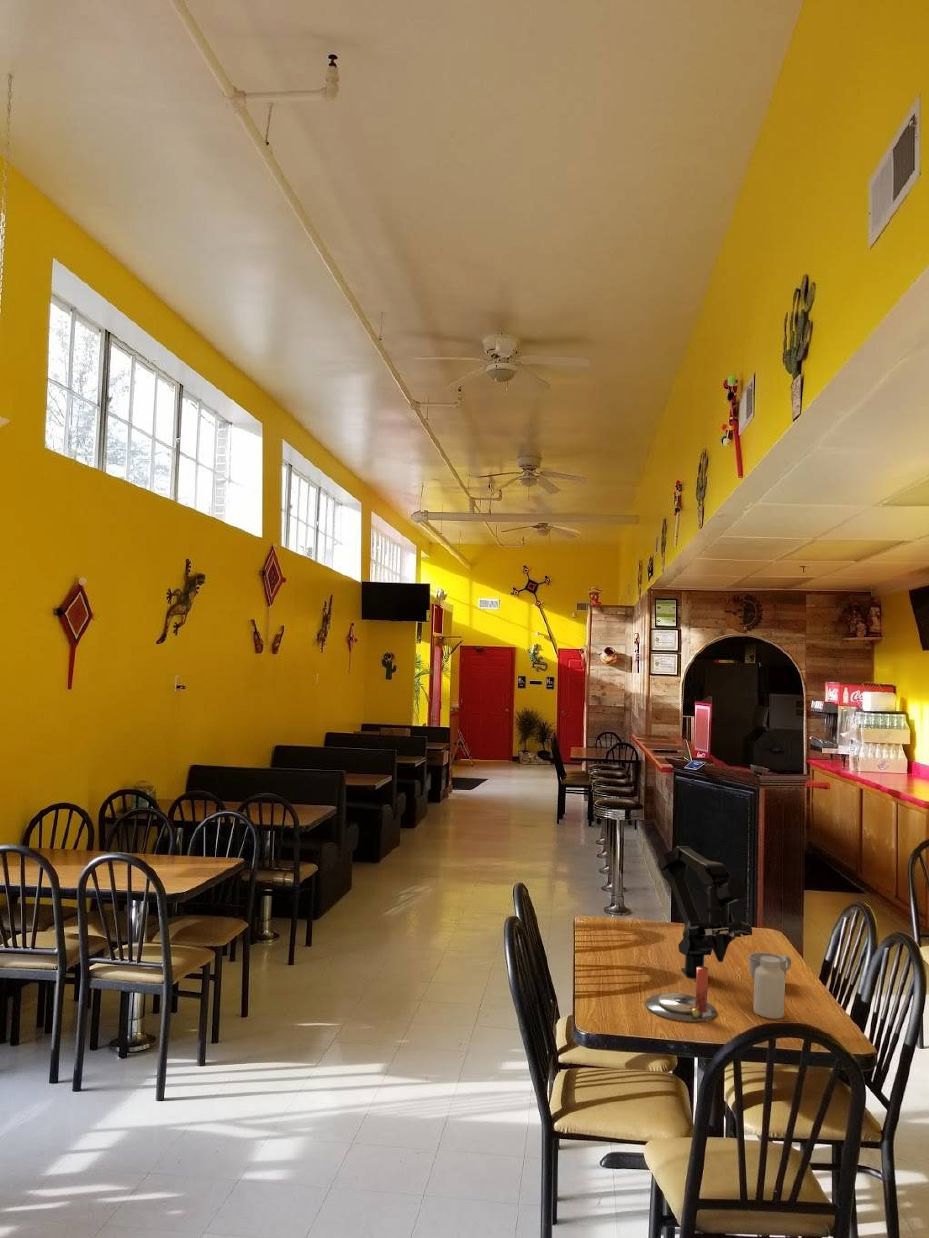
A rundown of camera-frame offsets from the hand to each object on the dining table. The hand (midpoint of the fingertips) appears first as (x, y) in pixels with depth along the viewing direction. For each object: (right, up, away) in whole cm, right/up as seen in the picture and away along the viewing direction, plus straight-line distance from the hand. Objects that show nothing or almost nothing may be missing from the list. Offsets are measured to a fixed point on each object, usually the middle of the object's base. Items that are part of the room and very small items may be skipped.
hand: (720, 961), depth 259 cm
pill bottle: (+10, -10, -11) cm, 18 cm away
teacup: (+20, -12, +15) cm, 27 cm away
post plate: (-14, -9, -10) cm, 19 cm away
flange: (-13, -8, -11) cm, 19 cm away
